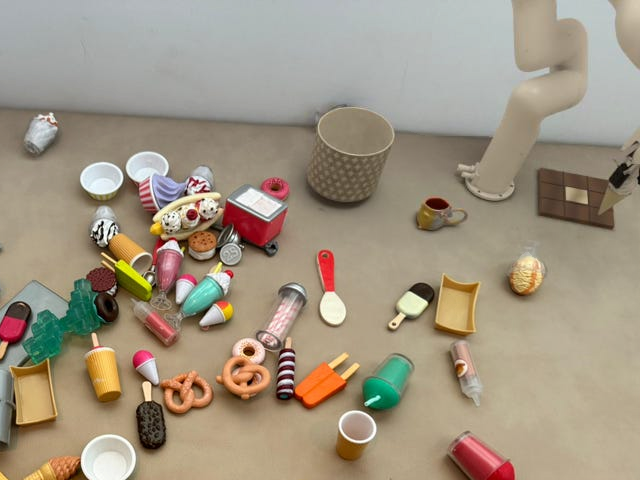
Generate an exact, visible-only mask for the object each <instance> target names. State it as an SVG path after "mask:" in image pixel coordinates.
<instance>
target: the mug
mask: <svg viewBox="0 0 640 480" xmlns="http://www.w3.org/2000/svg"><path fill="white" fill-rule="evenodd" d="M452 207H453V205H451V204H450V203H449V202H448V200H446V199H445V198H444V197H440V196H432V197H428V198H427V199H425V200H424V201H423V202H422V203H421V204H420V208H419V209H418V211H417V213H416V214H417V215H416V221H417V224H418V229H424V230H428V231H435V230H438V229H440V228H442V227H443V226H455V225H460V224H463V223H464V222H466V221H467V219H468V217H469V213H468V211H467V210H466V209H465V208H462V207H455V208H452ZM454 212H455V213H456V212H462V213H463V217H462V218H461V219H458V220H449V218H453V213H454Z"/></svg>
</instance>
